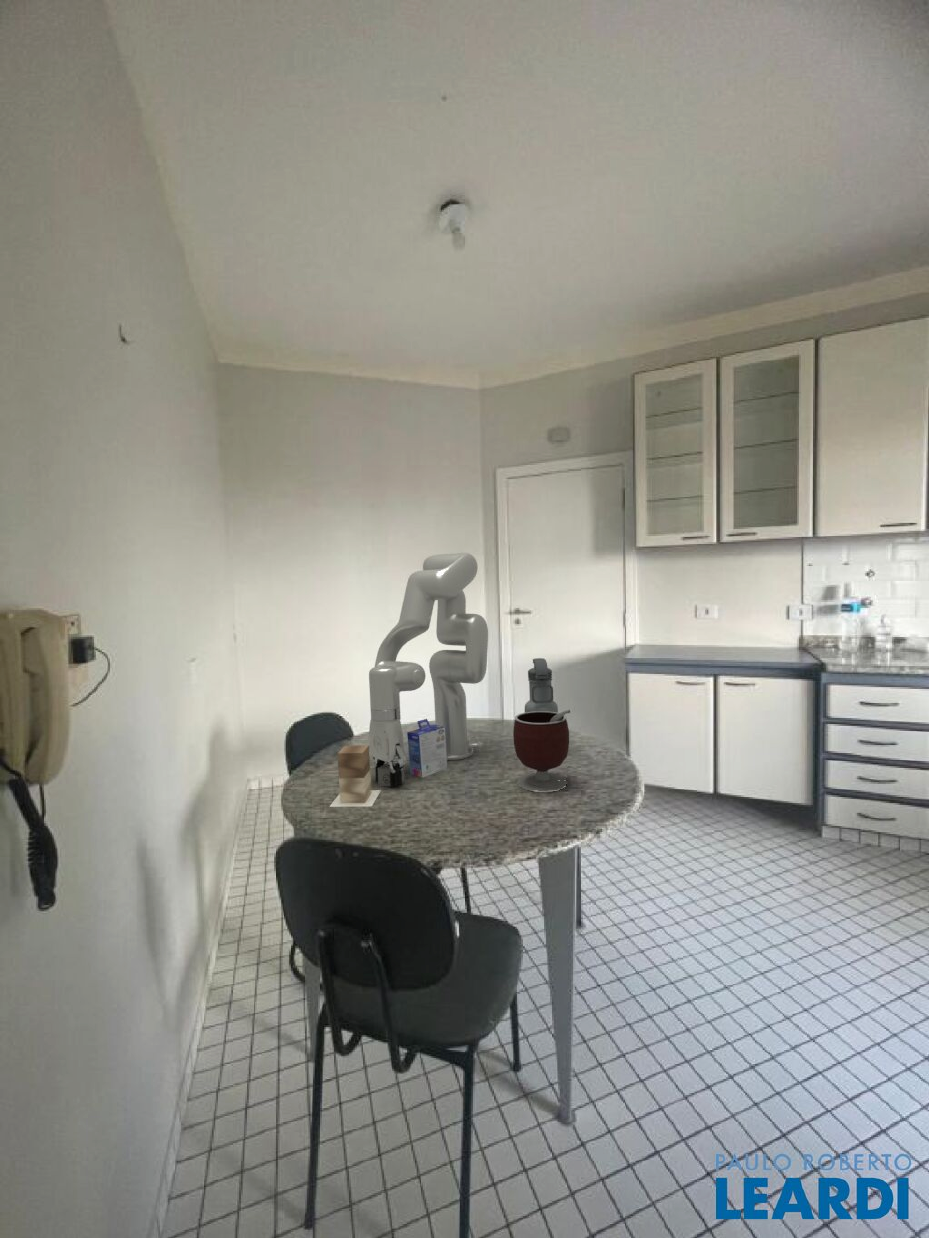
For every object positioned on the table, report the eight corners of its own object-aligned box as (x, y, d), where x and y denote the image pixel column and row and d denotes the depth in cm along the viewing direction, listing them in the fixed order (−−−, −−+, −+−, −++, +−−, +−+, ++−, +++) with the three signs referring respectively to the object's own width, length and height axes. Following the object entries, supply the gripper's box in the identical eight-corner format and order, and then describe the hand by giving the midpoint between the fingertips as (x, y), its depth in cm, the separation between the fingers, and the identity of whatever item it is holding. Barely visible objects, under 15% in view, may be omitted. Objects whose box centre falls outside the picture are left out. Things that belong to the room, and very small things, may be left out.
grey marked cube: (387, 780, 146) (386, 762, 146) (404, 782, 144) (403, 763, 144) (378, 787, 142) (377, 768, 141) (395, 789, 140) (394, 770, 140)
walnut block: (370, 769, 136) (368, 745, 135) (363, 777, 130) (362, 752, 130) (346, 769, 136) (344, 745, 136) (338, 778, 130) (337, 753, 130)
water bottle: (561, 758, 159) (559, 661, 157) (527, 759, 159) (524, 663, 157) (556, 747, 169) (553, 657, 167) (524, 749, 169) (521, 658, 167)
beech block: (371, 793, 136) (370, 769, 136) (365, 802, 130) (363, 777, 130) (347, 793, 137) (346, 769, 136) (340, 803, 131) (338, 778, 130)
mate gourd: (503, 785, 139) (501, 707, 138) (536, 770, 149) (533, 697, 148) (555, 800, 129) (553, 715, 127) (586, 783, 139) (584, 704, 137)
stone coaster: (381, 792, 138) (381, 790, 138) (371, 808, 128) (371, 806, 128) (342, 792, 139) (342, 790, 139) (329, 809, 129) (329, 806, 129)
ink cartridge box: (434, 765, 157) (432, 715, 156) (448, 769, 153) (446, 718, 152) (408, 775, 150) (405, 723, 149) (422, 780, 146) (419, 726, 145)
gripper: (355, 712, 146) (359, 778, 147) (391, 722, 133) (395, 796, 134) (380, 707, 151) (383, 771, 152) (417, 716, 138) (420, 787, 139)
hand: (388, 782), depth 143 cm, fingers closed on grey marked cube, 6 cm apart
